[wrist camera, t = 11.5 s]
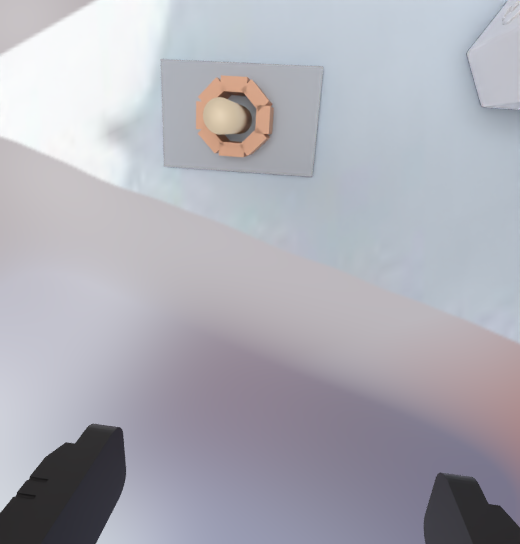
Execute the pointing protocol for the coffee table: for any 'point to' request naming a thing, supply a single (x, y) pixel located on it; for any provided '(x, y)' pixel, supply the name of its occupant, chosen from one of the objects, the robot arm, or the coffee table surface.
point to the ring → (225, 90)
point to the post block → (241, 116)
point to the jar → (498, 60)
